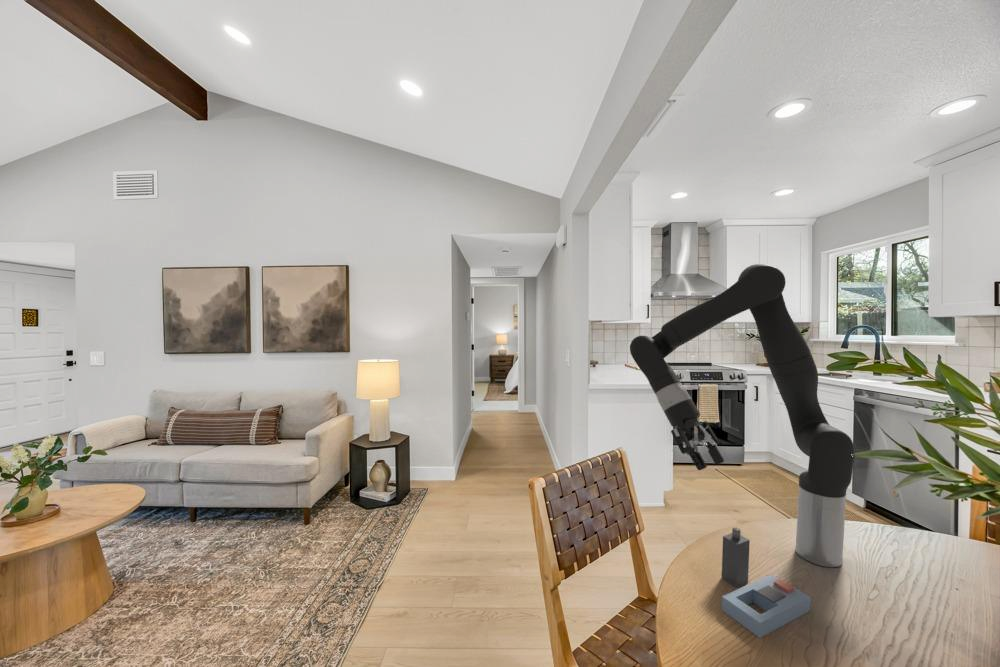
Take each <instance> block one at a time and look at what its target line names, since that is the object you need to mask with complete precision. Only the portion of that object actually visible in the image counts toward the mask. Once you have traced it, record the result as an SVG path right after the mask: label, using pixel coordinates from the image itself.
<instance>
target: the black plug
mask: <svg viewBox="0 0 1000 667" xmlns="http://www.w3.org/2000/svg"><path fill="white" fill-rule="evenodd" d="M731 530H732V532H731V533H728V534H725V535H723V536H722V554H721V555H722V556H721V557H722V559H721V579H723V580H724V581H726V582H727V583H728V584H730V585H732V586H733V587H735V588H738V587H739V588H740V586H743V585H745V584H747V583H749V569H750V567H749V564H750V540H751V539H749V538H747V537H745V536H743V535H741V531H742V530H741V529H740V528H738V527H732V529H731Z"/></svg>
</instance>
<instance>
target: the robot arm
mask: <svg viewBox="0 0 1000 667" xmlns="http://www.w3.org/2000/svg"><path fill="white" fill-rule="evenodd" d="M785 287H786V277H785V275H784V273H783V272H782V270H780V269H779V268H778V267H775V265H774V266H773V265H772V264H771V265H770V264H765V263H757V264H755V263H754V264H751V265H749V266H746V268H745V269H744V270H742V271H741V273H740V274H739V276H738V280H736V282H734V284H732V285H731V286H729V287H728V288H727V289H726V290H724V291H723V292H721V293H719V294H718V295H716V296H714V297H713V298H710V299H709V300H706V301H704V302H702V303H700V304H698V305H696V306H694V307H691V308H690V309H688V310H686V311H684V312H682V313H680V314H679V315H677V316H675V317H674V318H672V319H670V320H669V321H667V322H666V323H664V324H663V325H662V327H661V329H660V331H659V332H657V333H655V334H654V335H653V336H652V337H651V336H648V335H637V336H636V337H634V338H633V339H632V340H631V342H630V344H629V352H630V355H631V357H632V359H633V361H634V362H635V364H636V365H637V366H638V368H639V370H640V371H641V372H642V374H643V375H644V376H645V377H646V379H647V381H648V383H649V385H650V387H651V389H652V390H653V392H654V395H655V396H656V400H657V401H658V403H659V406H660V407H661V410H662V411H663V414H664V416H666V418H667V420H668V422H669V424H670V426H671V427H673V429H671V430H670V433H671V435H672V437H673V439H674V441H675V442H676V445H677V447H678V449H679V451H680V453H681V454H682V455H685V454H686V455H687V456H689V457H690V458H691V461H692V462H693V464H694V466H695V467H696V469H697V470H698V471H702V470H704V469H706V468H708V466H707V463H706V461H705V460H704V458H703V456H702V455H701V453H700V452H699V449H698V445H699V446H700V445H701V446H703V447H704V448H705V449H706V450H707V451H708V452H707V453H709V456H710V457H711V459H712V461H713V463H714V464H715V465H720V464H723V463H724V462H725V459H724V457H723V456H722V454H721V452H720V450H719V449H718V444H719V443H720V440H719V438H718V437H717V435H716V434H715V432H714V431H713V429H712V427H711V426H710V424H709V423H708V421H707V420H705V421H703V422H700V421H699V419H698V418H699V417H700V416H701V412H700V410H699V409H698V407H697V406H696V404H695V402H694V401H693V398H692V397H691V395H690V394H689V393H688V391H687V389H686V388H685V386H684V385H683V384H682V382H681V381H680V379H679V377H678V375H677V374H676V373H675V370H674V368H672V366H670V365H669V364H668V363H667V362H666V360H665V358H666V357H668V356H669V355H670V354H671V353H672V352H674V351H676V349H678V348H679V347H680V346H683V345H685V344H686V343H688V342H690V341H692V340H693V339H695V338H697V337H698V336H700V335H702V334H704V333H706V332H707V331H708V330H710V329H712V328H714V327H716V326H717V325H719V324H721V323H723V322H726V321H727V320H728V319H730V318H732V317H734V316H737V315H739V314H741V313H743V312H745V311H747V310H749V311H750V313H751V315H752V317H753V319H754V321H755V324H756V327H757V328H756V329H757V332H758V336H759V340H760V343H761V347H762V350H763V353H764V355H765V359H766V360H765V361H766V363H767V365H768V367H769V370H770V373H771V375H772V377H773V380H774V381H775V384H776V388H777V390H778V392H779V394H780V397H781V399H782V401H783V402H784V406H785V408H786V411H787V415H788V418H789V422H790V427H791V430H792V434H793V437H794V441H795V443H796V446H797V447H798V449H799V450H800V452H802V453H803V454H804V455H806V456H807V457H809V458H808V459H809V460H808V469H807V471H802V472H801V473H800V474H799V477H798V478H799V479H798V492H797V493H798V494H797V496H798V497H797V498H798V499H797V513H796V514H797V515H796V516H797V517H796V518H797V519H796V520H797V521H796V532H795V533H796V535H795V551H796V553H797V554H798V556H800V558H802V559H804V560H806V561H807V562H810V563H812V564H815V565H817V566H822V567H826V568H837V567H841V566H842V564H843V556H844V540H845V538H844V537H845V521H846V505H847V504H846V501H847V489H848V487H849V486H850V485H851V482H852V478H853V477H852V476H853V469H854V462H855V456H854V457H852V456H851V454H853V453H854V454H855V446H854V442H853V440H852V439H851V437H850V436H849V435H848V434H847V433H846V432H844V431H842V430H840V429H838V428H836V427H834V426H832V425H831V424H829V422H828V420H827V418H826V417H825V415H824V412H823V409H822V408H821V406H820V403H819V399H818V389H819V388H818V387H819V385H818V384H819V373H818V368H817V365H816V363H815V360H814V358H813V355H812V352H811V349H810V347H809V346H808V344H807V342H806V340H805V338H804V336H803V334H802V333H801V331H800V330H799V328H798V327H797V325H796V323H795V322H794V320H793V318H792V317H791V315H790V312H789V311H788V308H787V306H786V302H785V299H784V295H783V292H784V290H785Z"/></svg>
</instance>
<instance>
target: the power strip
mask: <svg viewBox="0 0 1000 667" xmlns="http://www.w3.org/2000/svg"><path fill="white" fill-rule="evenodd" d="M811 598H812V597H811V596H810V595H808V594H806V593H805V592H803V591H801V590H799V589H798V588H797V587H794V586H792V585H791V584H789V583H787V582H785V581H784V580H782V579H781V578H779V577H778V576H775V575H774V574H772V573H771V574H768V575H766V576H764V577H761V578H759V579H757V580H755V581H753V582H750V583H748V584H746V585H744V586H742V587H739V588H737V589H736V590H733V591H731V592H728V593H726V594H724V595H722V596H721V611H722V612H724V613H725V614H726V615H728V616H729V617H730V618H732V619H733V620H734V621H736V622H737V623H738V624H740V625H741V626H743V627H744V628H745V629H747V630H748V631H749V632H751V633H752V634H754V635H755V637H758V638H759V639H761V638H763V637H765V636H766V635H769V634H770V633H772V632H774V631H775V630H777V629H779V628H781V627H783V626H785V625H787V624H788V623H790V622H792V621H794V620H797V618H799V617H801V616H803V615H805V614H806V613H809V612H810V611H811V600H812V599H811ZM751 604H755V605H756V606H758V607H759V608H760V609H762V610H763V611H764V612H763V613H760V612H758V611H756V610H755V609H753V608H752V607H751V606H749V605H751Z"/></svg>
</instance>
